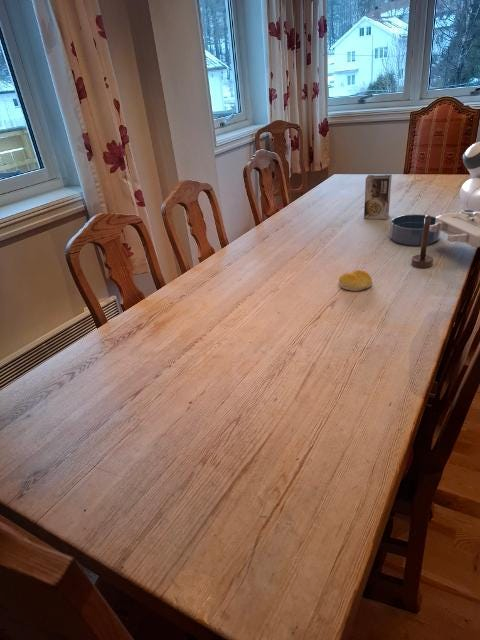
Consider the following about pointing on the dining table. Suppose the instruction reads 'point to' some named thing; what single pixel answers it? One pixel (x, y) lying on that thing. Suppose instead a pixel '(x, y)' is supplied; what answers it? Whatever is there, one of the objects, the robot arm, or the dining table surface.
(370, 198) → the coffee box
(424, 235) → the wooden peg stand
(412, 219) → the bowl
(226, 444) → the dining table surface
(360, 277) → the bread roll
